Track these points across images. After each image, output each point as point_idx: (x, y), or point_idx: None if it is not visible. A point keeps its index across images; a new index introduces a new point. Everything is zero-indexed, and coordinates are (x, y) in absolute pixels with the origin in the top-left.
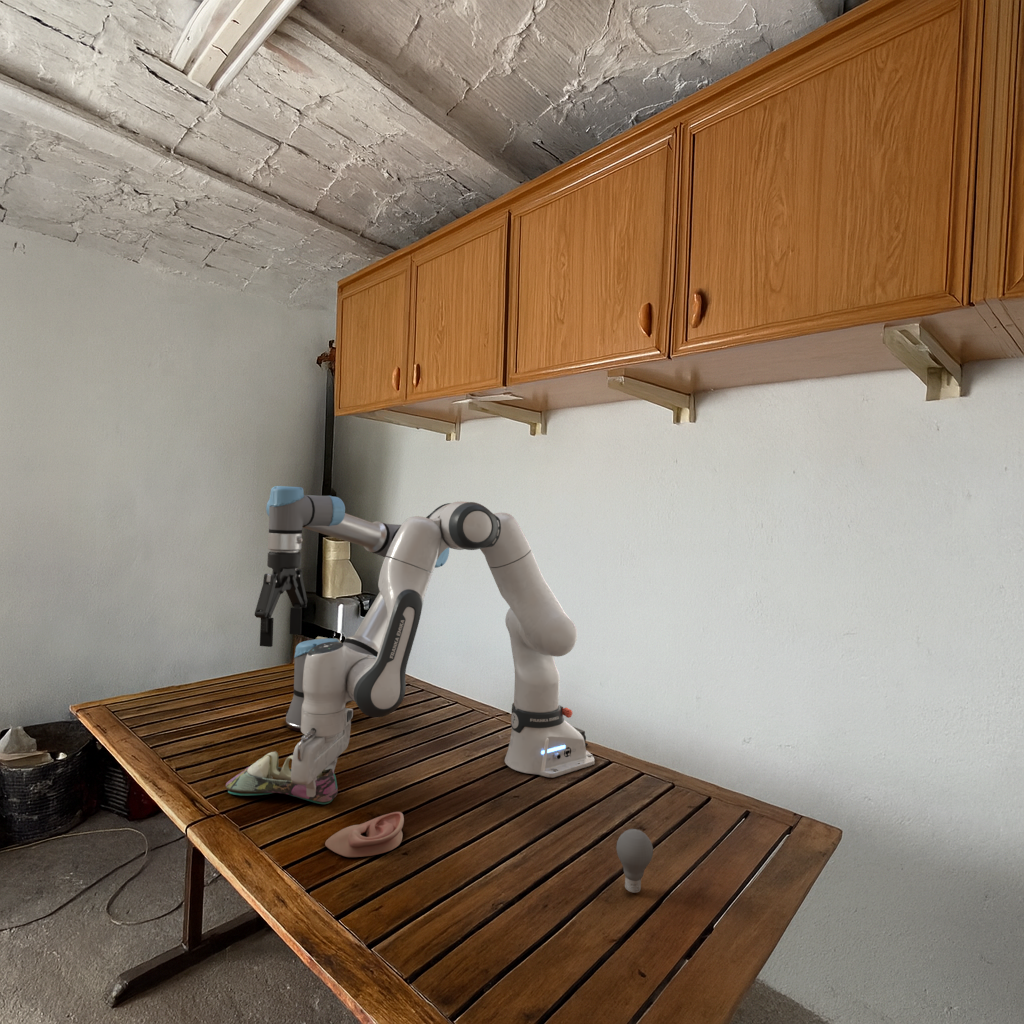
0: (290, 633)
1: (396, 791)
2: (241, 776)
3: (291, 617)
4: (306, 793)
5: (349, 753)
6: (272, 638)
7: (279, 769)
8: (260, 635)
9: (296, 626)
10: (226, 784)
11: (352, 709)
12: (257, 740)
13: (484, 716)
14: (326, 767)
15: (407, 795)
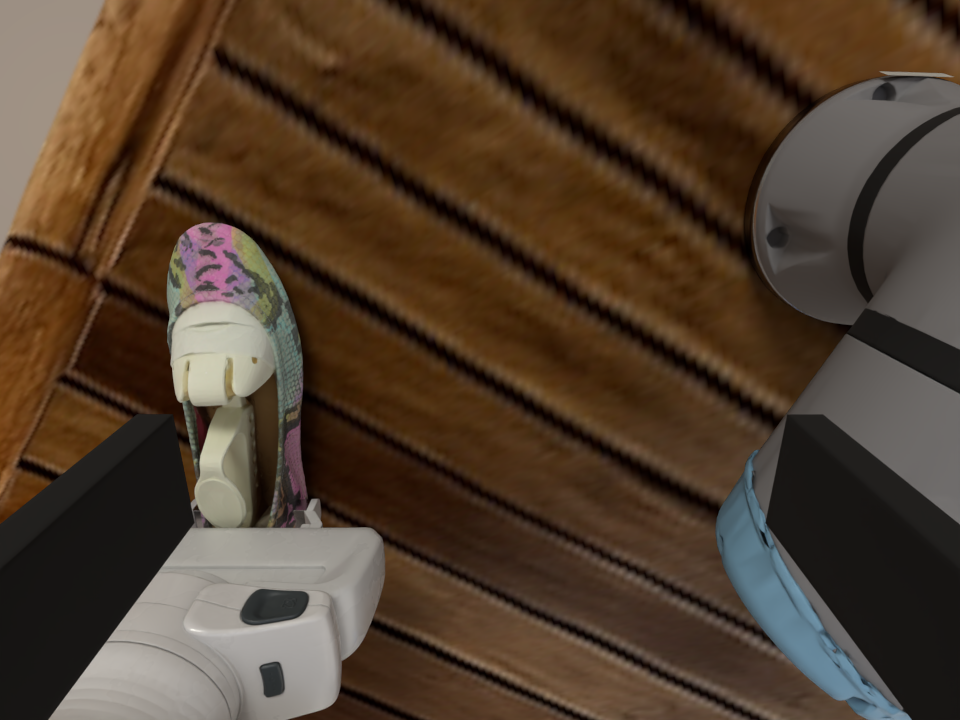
0: (788, 427)
1: (378, 625)
2: (176, 295)
3: (920, 559)
4: (192, 501)
5: (581, 443)
6: (144, 579)
7: (275, 377)
8: (60, 481)
9: (820, 545)
10: (184, 235)
11: (323, 708)
12: (635, 70)
13: None
14: (306, 516)
15: (367, 651)
